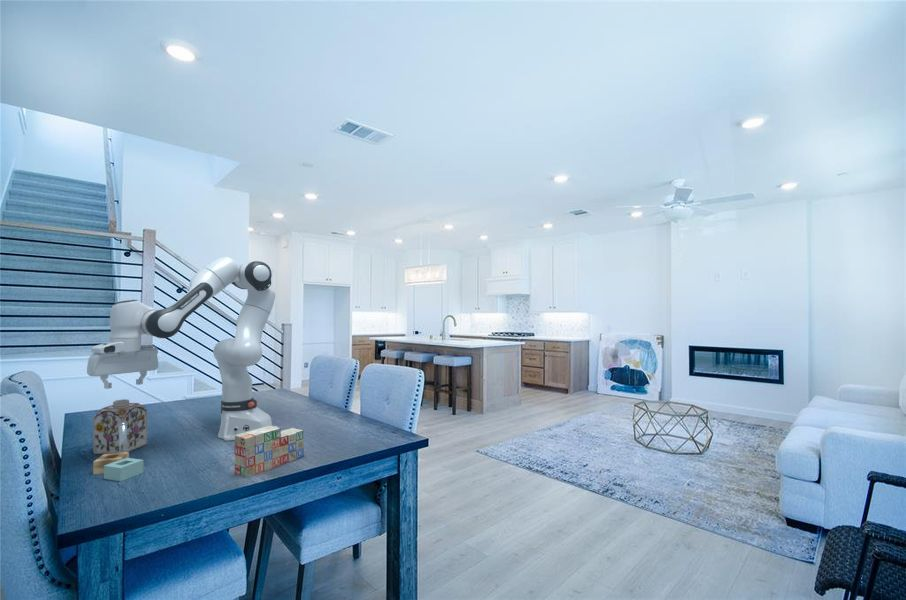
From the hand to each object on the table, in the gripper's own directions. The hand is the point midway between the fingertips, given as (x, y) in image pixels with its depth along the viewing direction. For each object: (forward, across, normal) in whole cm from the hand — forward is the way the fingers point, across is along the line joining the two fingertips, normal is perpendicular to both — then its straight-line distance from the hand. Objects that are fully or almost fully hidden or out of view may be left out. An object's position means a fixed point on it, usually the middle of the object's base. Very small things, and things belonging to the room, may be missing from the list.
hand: (124, 386), depth 148 cm
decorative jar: (+25, -5, -13) cm, 29 cm away
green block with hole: (+25, +7, +17) cm, 31 cm away
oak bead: (+25, +6, +7) cm, 27 cm away
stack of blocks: (+25, -21, +50) cm, 60 cm away
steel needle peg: (+25, 0, +1) cm, 25 cm away
